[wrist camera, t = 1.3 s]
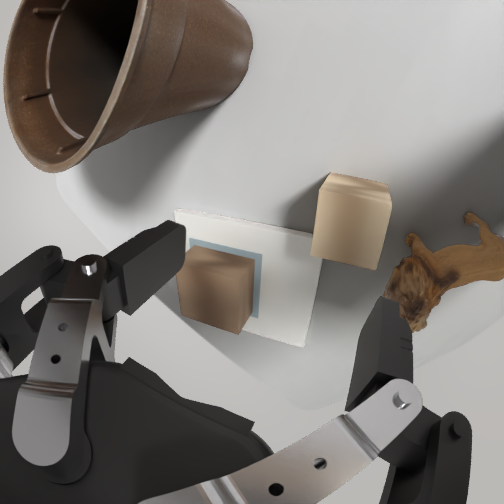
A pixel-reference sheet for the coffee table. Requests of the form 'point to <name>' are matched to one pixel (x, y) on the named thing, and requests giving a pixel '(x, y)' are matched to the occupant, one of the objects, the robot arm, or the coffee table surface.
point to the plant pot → (115, 70)
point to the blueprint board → (265, 270)
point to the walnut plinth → (216, 288)
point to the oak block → (351, 220)
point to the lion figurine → (443, 272)
